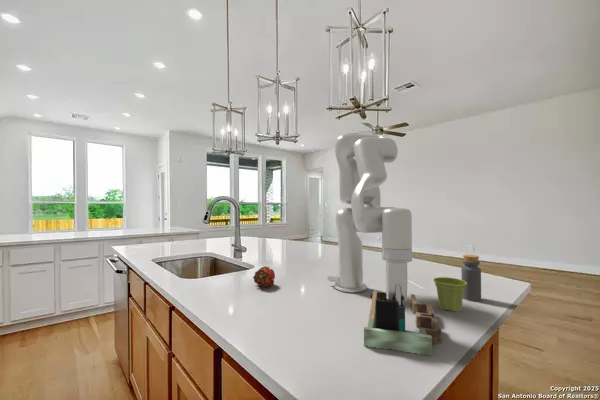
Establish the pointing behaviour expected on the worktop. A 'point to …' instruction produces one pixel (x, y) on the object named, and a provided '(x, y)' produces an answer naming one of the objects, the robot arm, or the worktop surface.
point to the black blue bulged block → (390, 315)
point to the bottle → (471, 278)
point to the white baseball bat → (414, 284)
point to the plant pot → (450, 292)
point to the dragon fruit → (264, 277)
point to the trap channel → (405, 340)
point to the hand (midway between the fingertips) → (397, 323)
